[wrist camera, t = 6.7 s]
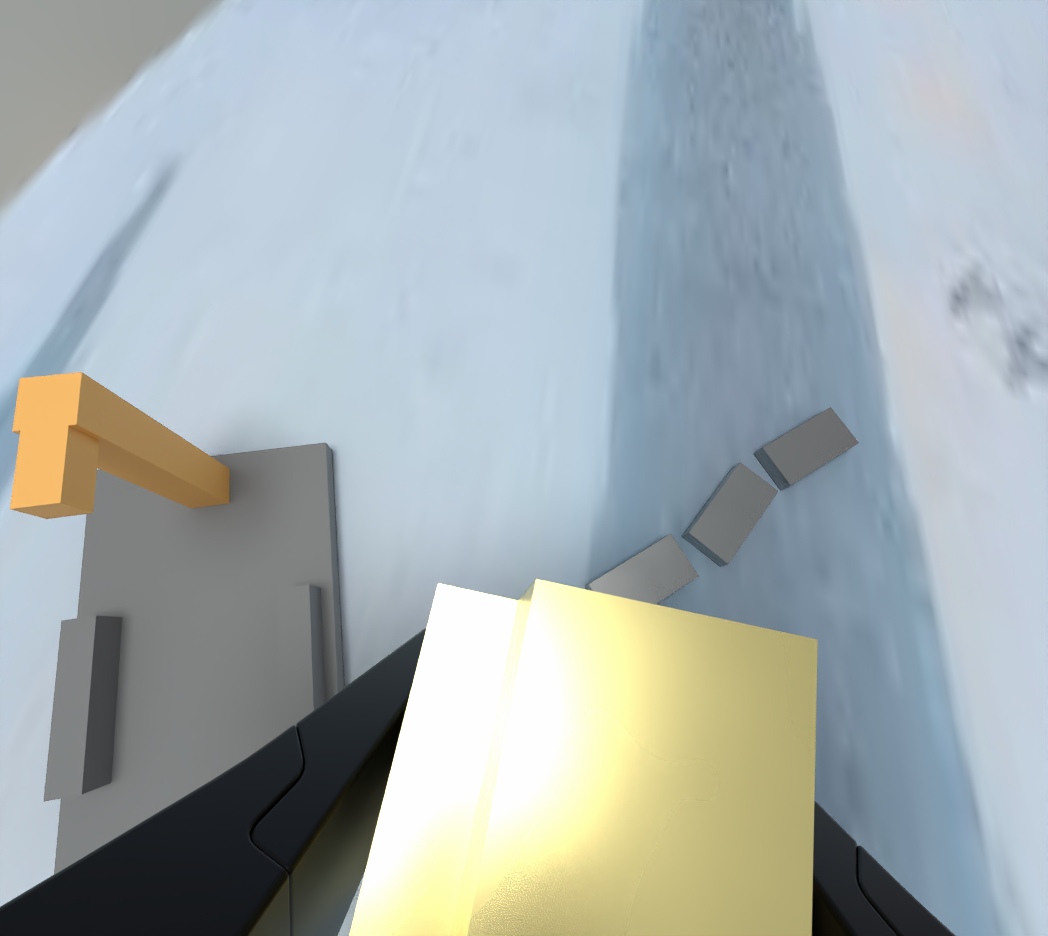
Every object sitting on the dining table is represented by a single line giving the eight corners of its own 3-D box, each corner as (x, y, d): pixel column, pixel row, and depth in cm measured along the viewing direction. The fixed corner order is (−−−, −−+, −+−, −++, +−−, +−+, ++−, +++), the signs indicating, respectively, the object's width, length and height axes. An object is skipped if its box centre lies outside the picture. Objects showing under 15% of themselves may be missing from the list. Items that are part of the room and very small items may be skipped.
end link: (581, 807, 15) (985, 1509, 3) (430, 775, 15) (197, 1342, 3) (604, 647, 17) (940, 667, 4) (466, 617, 17) (412, 552, 4)
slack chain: (851, 444, 27) (863, 438, 26) (634, 656, 23) (639, 657, 22) (798, 394, 28) (808, 386, 27) (578, 591, 24) (582, 589, 23)
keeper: (351, 835, 20) (233, 1010, 11) (73, 891, 19) (-332, 1141, 10) (331, 449, 25) (237, 336, 16) (106, 477, 24) (-145, 372, 14)
